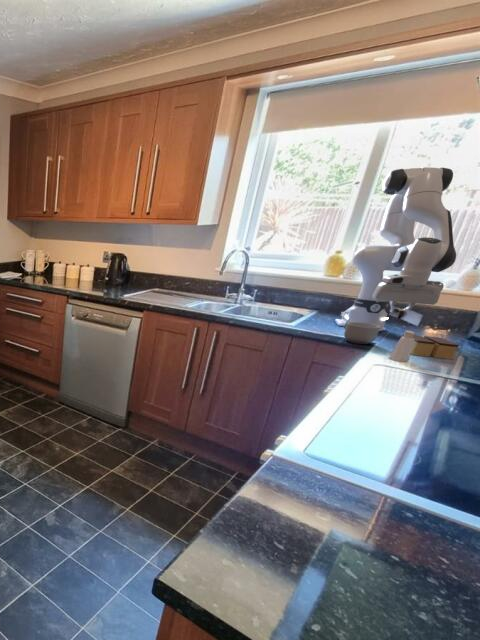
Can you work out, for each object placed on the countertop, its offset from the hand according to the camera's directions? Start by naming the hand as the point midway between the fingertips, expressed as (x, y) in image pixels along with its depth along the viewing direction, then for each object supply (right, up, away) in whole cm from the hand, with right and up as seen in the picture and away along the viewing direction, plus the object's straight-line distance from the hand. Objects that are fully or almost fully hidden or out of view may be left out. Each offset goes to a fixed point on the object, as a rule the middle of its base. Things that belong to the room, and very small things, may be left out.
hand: (398, 312), depth 179 cm
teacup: (-13, -12, +6) cm, 19 cm away
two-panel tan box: (+3, -18, -8) cm, 19 cm away
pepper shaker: (-18, -21, -18) cm, 33 cm away
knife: (-3, -4, -5) cm, 7 cm away
